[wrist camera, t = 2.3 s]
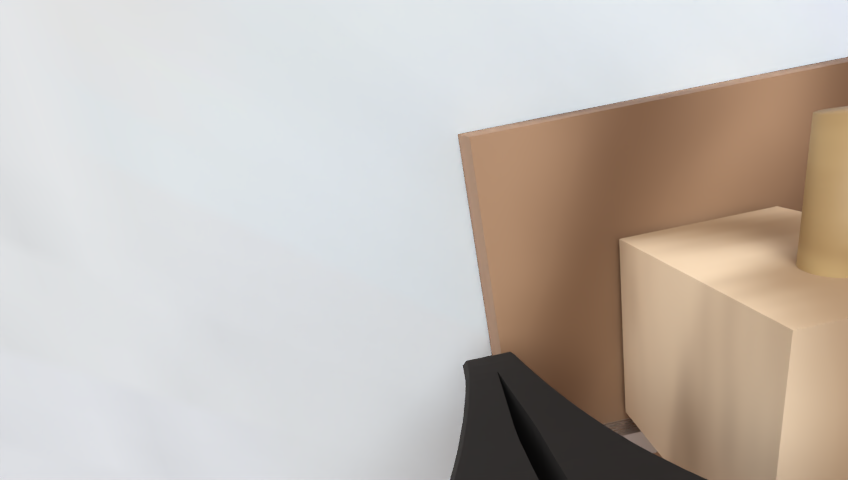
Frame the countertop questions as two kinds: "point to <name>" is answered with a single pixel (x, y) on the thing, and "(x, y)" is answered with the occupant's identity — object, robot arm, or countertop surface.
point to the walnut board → (622, 207)
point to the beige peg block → (747, 331)
